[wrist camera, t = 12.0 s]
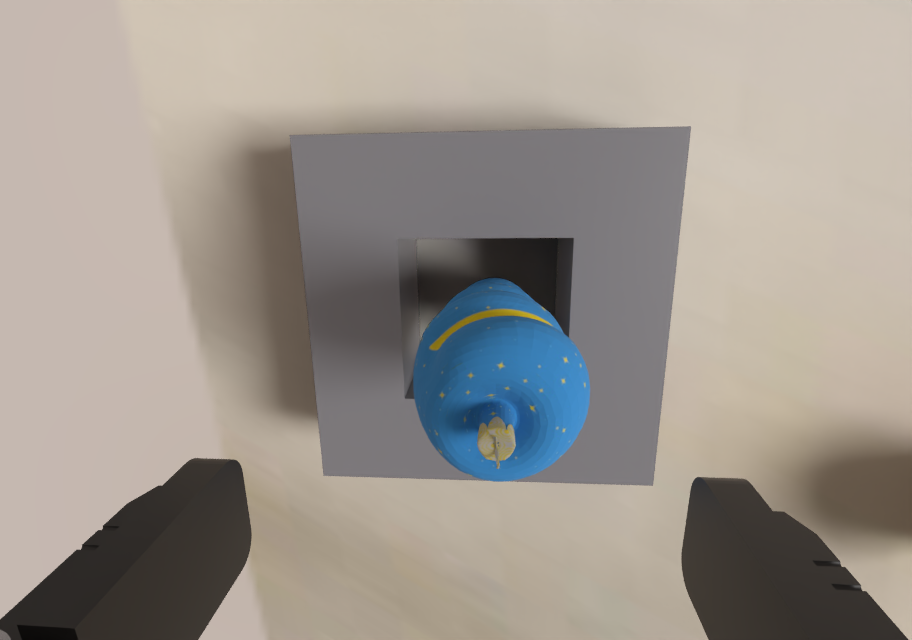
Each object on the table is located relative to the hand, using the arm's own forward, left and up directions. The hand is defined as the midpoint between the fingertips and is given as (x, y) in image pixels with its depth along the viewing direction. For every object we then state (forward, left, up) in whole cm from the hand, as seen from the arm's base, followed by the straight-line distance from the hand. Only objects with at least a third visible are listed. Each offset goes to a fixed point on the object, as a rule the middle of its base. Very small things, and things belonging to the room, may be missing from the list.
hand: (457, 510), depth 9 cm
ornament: (0, +1, -18) cm, 18 cm away
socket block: (0, 0, -18) cm, 18 cm away
